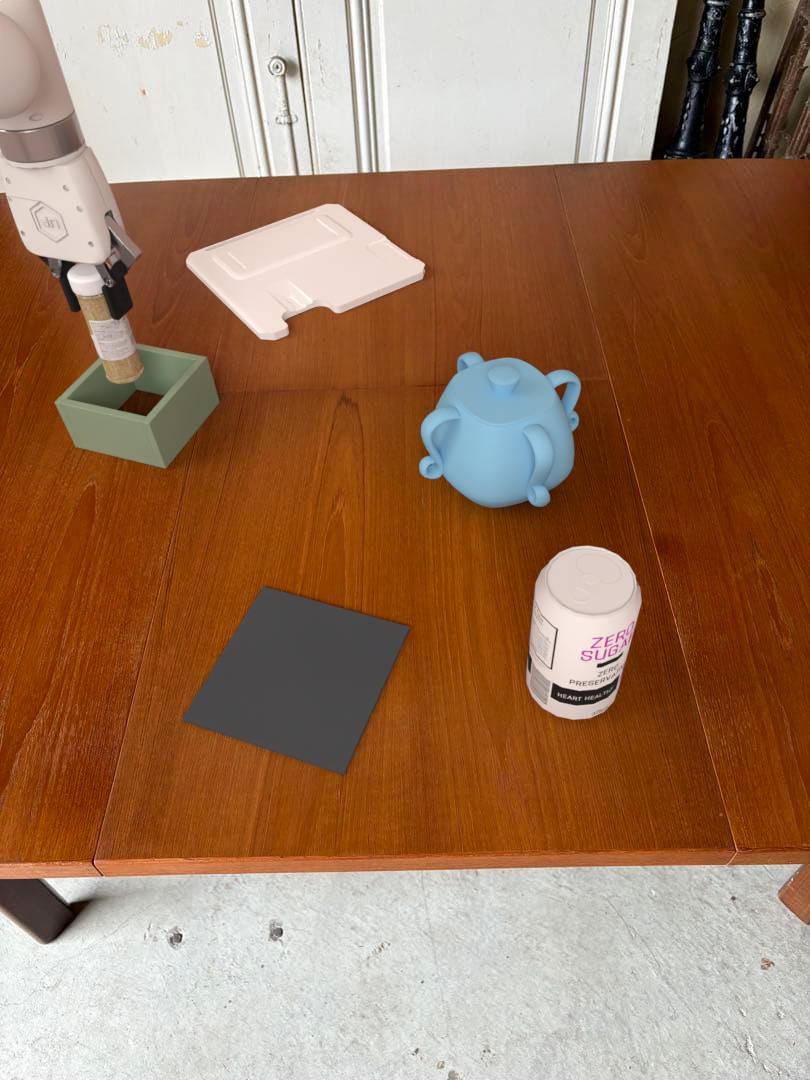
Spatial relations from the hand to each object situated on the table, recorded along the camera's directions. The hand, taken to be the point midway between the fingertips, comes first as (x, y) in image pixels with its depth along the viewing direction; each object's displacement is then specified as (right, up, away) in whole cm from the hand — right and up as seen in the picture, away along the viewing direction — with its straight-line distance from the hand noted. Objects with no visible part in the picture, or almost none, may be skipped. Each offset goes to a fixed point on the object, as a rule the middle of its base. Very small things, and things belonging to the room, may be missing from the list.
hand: (102, 308), depth 89 cm
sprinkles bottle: (0, -6, +7) cm, 9 cm away
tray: (+18, +16, +36) cm, 43 cm away
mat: (+23, -38, -13) cm, 46 cm away
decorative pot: (+44, -18, +4) cm, 48 cm away
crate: (+1, -11, +13) cm, 17 cm away
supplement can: (+48, -39, -15) cm, 64 cm away
